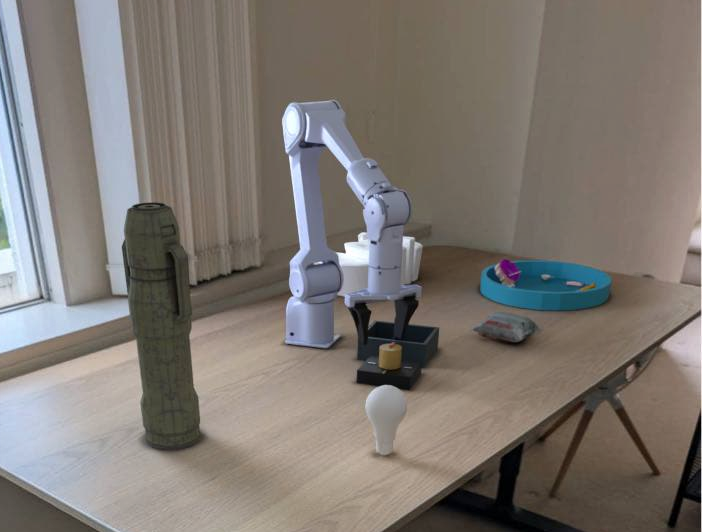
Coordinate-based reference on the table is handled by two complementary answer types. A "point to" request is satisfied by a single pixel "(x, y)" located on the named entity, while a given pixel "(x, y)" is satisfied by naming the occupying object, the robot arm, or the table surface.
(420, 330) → the dark teal open box
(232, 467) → the table surface
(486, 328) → the packaged food
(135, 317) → the thermos
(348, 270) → the wavy white extrusion
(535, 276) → the round blue tray
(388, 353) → the tap knob
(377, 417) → the lightbulb
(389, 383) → the block
